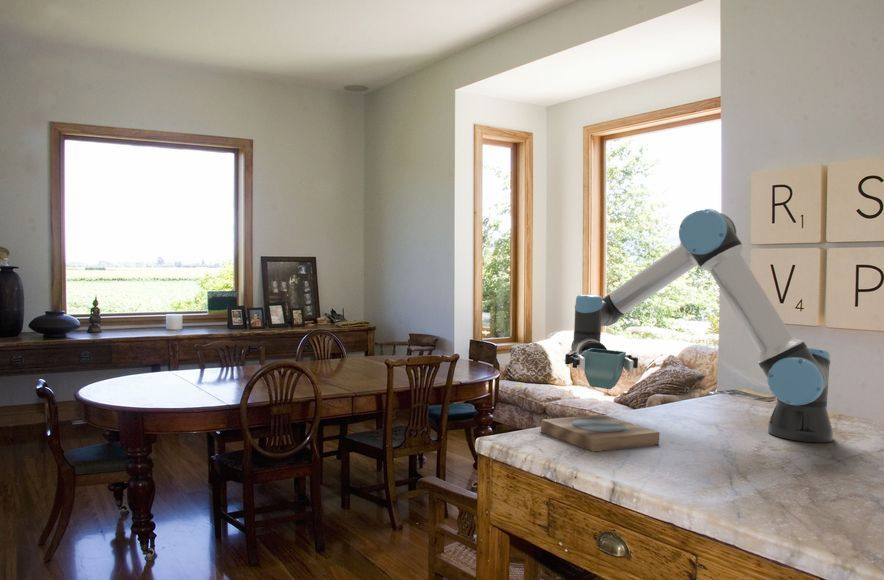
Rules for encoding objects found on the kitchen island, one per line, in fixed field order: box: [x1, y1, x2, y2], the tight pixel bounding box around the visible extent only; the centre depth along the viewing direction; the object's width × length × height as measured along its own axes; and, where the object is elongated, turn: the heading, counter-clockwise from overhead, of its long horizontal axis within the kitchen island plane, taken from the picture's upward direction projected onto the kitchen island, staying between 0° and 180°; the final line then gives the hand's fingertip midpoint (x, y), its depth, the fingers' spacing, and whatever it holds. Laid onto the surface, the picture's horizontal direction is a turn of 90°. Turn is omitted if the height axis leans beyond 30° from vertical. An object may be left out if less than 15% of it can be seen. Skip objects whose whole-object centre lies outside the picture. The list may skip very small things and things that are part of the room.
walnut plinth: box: [540, 414, 661, 452], centre depth 170 cm, size 20×20×3 cm
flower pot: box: [583, 348, 627, 390], centre depth 172 cm, size 9×9×9 cm
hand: (607, 365), depth 167 cm, fingers closed on flower pot, 11 cm apart
